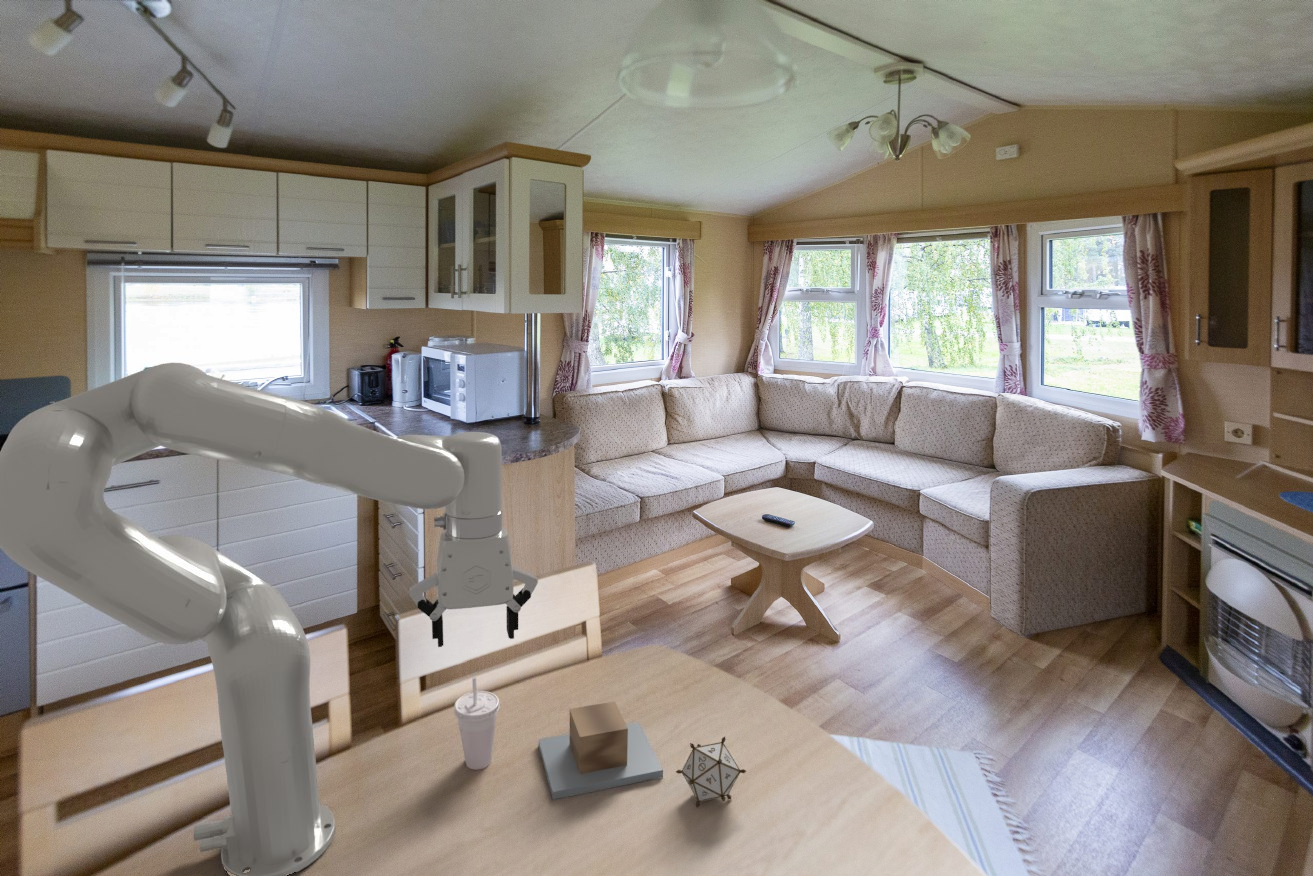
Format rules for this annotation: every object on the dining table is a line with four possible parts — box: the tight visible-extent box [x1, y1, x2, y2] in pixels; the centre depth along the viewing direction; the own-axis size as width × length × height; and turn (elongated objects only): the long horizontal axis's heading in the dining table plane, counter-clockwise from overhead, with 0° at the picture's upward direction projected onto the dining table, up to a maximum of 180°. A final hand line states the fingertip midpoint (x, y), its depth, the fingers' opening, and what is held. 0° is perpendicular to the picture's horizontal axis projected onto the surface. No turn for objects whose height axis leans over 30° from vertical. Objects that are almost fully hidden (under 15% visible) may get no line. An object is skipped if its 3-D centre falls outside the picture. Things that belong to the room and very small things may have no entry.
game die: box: [675, 736, 747, 808], centre depth 100 cm, size 9×8×10 cm
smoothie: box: [453, 676, 501, 771], centre depth 105 cm, size 6×6×14 cm
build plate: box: [538, 721, 664, 800], centre depth 107 cm, size 16×12×1 cm
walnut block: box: [569, 700, 628, 774], centre depth 106 cm, size 7×7×6 cm
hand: (475, 638), depth 102 cm, fingers open, 9 cm apart
